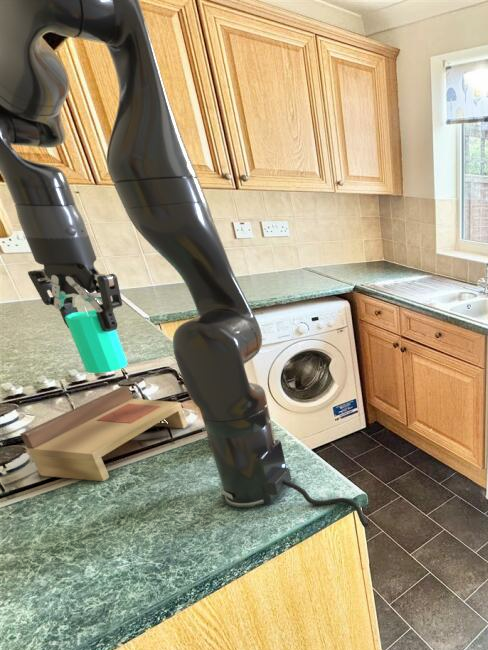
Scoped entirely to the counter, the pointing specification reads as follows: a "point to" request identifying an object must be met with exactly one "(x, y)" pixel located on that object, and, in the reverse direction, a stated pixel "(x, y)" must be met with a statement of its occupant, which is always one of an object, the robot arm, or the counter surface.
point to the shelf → (95, 433)
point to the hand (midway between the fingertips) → (93, 328)
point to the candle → (95, 343)
